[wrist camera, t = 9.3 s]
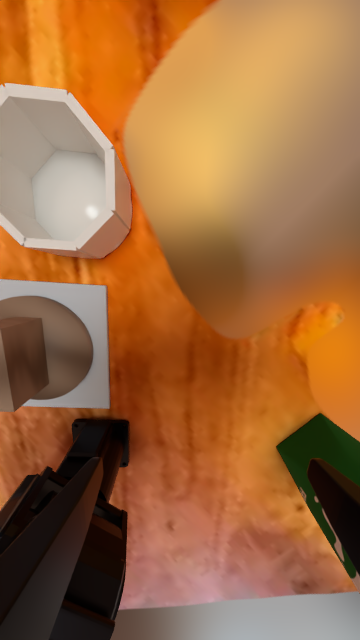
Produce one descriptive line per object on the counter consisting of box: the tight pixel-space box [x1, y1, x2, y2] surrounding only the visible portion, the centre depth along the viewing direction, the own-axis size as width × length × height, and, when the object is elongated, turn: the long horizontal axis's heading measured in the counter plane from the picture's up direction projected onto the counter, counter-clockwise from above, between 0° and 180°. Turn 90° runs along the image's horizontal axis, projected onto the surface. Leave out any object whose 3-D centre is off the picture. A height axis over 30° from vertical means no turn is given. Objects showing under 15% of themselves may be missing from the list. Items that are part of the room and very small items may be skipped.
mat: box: [0, 279, 110, 409], centre depth 18 cm, size 14×14×1 cm
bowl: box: [0, 83, 132, 259], centre depth 13 cm, size 9×9×5 cm
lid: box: [0, 296, 93, 412], centre depth 16 cm, size 11×11×5 cm
